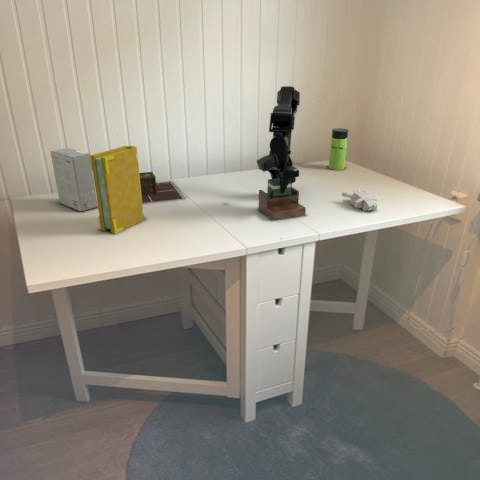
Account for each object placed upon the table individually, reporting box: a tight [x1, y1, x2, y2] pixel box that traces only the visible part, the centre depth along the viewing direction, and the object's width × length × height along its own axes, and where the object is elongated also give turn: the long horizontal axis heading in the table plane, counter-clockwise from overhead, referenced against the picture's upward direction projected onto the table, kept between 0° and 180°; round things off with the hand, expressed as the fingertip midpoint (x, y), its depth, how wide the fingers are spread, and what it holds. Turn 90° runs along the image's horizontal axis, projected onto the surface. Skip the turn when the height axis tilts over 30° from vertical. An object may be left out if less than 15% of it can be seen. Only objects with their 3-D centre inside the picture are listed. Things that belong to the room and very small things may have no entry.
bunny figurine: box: [341, 189, 378, 212], centre depth 197 cm, size 10×5×15 cm
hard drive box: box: [50, 147, 98, 212], centre depth 193 cm, size 16×8×20 cm, turn 47°
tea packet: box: [266, 178, 291, 197], centre depth 189 cm, size 7×5×5 cm
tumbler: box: [328, 127, 349, 171], centre depth 240 cm, size 8×8×17 cm
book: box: [90, 145, 145, 235], centre depth 175 cm, size 17×7×25 cm, turn 148°
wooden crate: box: [139, 171, 158, 197], centre depth 210 cm, size 7×7×7 cm
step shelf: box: [258, 186, 307, 221], centre depth 190 cm, size 13×12×8 cm
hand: (278, 190), depth 190 cm, fingers closed on tea packet, 5 cm apart
